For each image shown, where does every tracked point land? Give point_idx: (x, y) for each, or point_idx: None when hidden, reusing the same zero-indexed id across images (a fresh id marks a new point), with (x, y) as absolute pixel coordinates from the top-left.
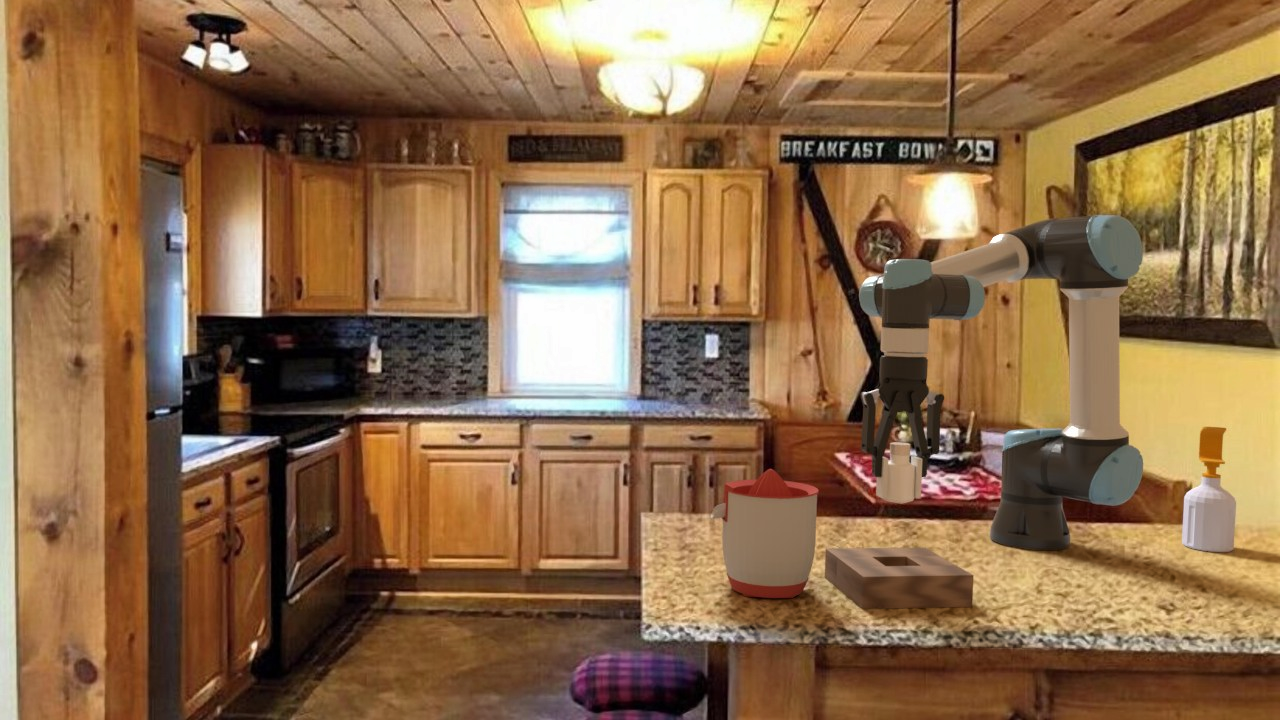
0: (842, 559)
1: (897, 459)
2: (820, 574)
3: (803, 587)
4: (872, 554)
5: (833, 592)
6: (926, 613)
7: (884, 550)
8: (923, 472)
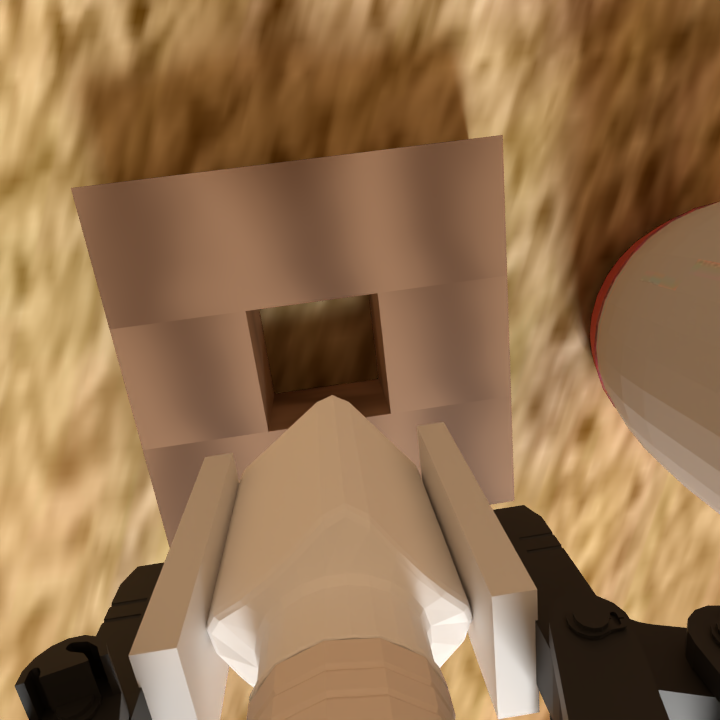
0: (502, 369)
1: (391, 611)
2: None
3: (615, 269)
4: None
5: None
6: (280, 105)
7: None
8: (145, 589)
